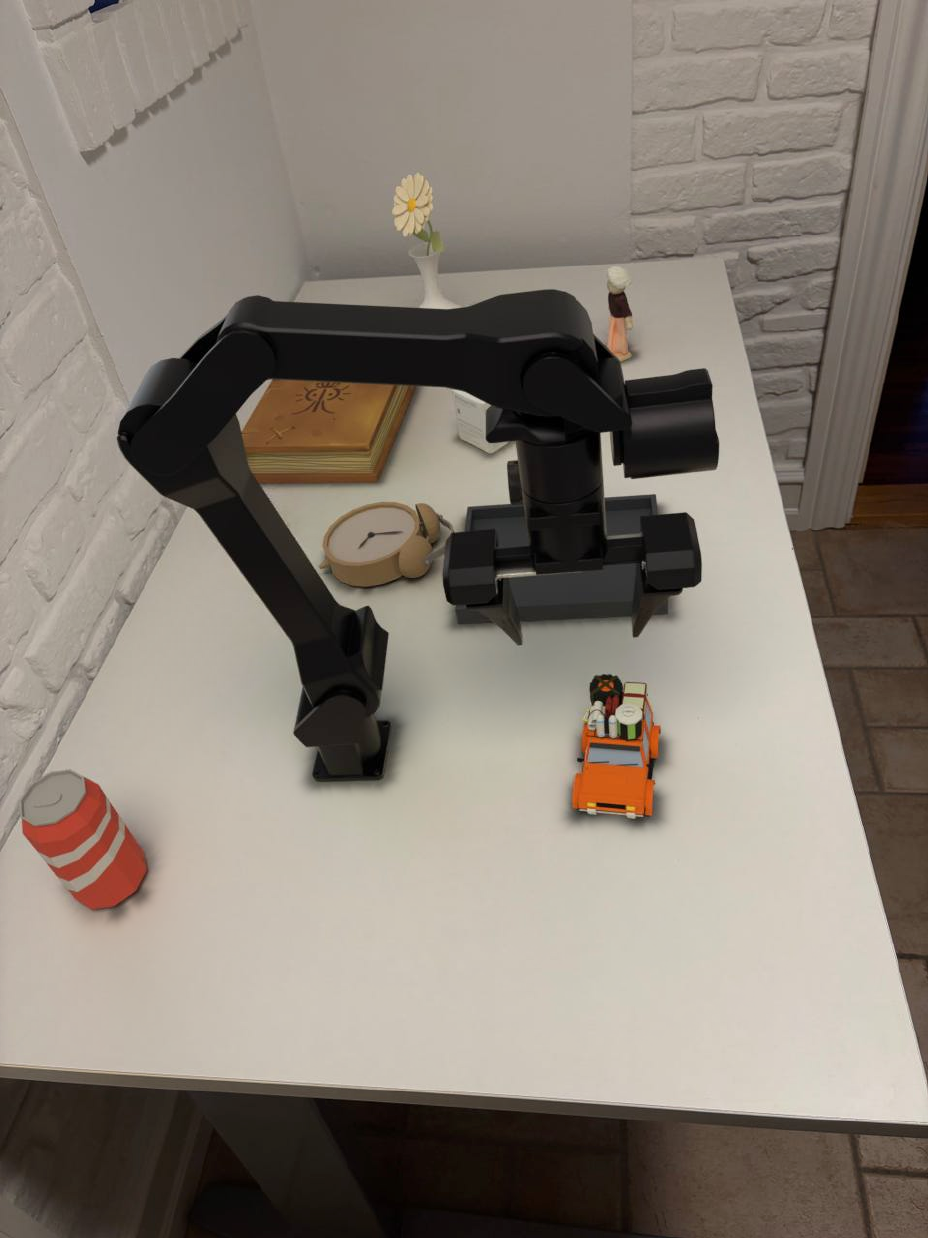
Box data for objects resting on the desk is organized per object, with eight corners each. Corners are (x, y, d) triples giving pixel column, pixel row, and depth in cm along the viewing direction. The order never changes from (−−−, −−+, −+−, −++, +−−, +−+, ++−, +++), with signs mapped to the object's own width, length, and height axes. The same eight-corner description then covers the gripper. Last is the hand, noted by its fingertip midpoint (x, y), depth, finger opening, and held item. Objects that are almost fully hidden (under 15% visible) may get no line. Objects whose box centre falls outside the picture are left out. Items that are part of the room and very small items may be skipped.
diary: (293, 389, 139) (282, 353, 135) (416, 385, 135) (409, 348, 131) (239, 483, 123) (225, 445, 119) (377, 482, 119) (367, 443, 115)
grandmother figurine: (593, 349, 136) (589, 262, 127) (616, 340, 136) (614, 253, 128) (622, 370, 130) (619, 281, 122) (646, 361, 131) (645, 272, 122)
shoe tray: (667, 614, 95) (667, 598, 94) (457, 624, 98) (455, 609, 97) (655, 508, 108) (655, 493, 106) (469, 520, 111) (467, 506, 109)
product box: (458, 439, 124) (450, 389, 119) (492, 418, 126) (486, 368, 121) (490, 455, 120) (483, 404, 115) (525, 433, 122) (519, 382, 117)
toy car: (661, 720, 86) (661, 651, 80) (658, 834, 77) (658, 767, 71) (583, 717, 87) (578, 650, 81) (572, 829, 79) (565, 763, 73)
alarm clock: (334, 505, 112) (454, 484, 107) (350, 538, 115) (467, 519, 110) (307, 569, 104) (436, 549, 99) (326, 601, 107) (451, 584, 102)
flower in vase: (395, 333, 148) (361, 164, 131) (465, 314, 149) (440, 144, 132) (417, 370, 138) (383, 193, 121) (491, 349, 140) (468, 172, 123)
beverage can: (84, 854, 84) (22, 770, 76) (155, 844, 83) (100, 759, 75) (68, 917, 79) (0, 835, 71) (143, 906, 79) (83, 823, 71)
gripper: (685, 403, 71) (683, 563, 81) (437, 429, 73) (467, 580, 84) (705, 493, 63) (700, 657, 73) (426, 518, 65) (460, 673, 76)
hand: (577, 637), depth 77 cm, fingers open, 9 cm apart
